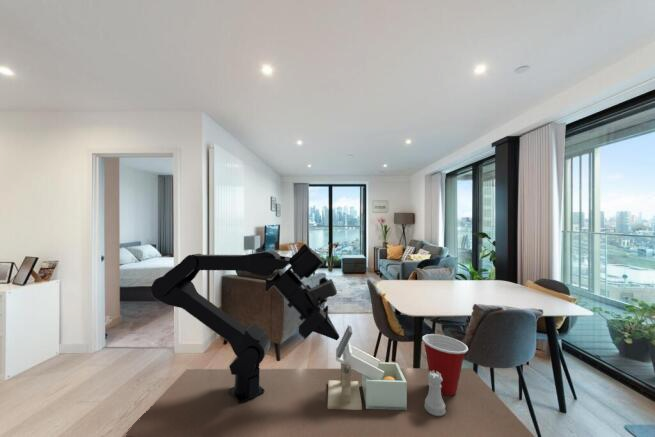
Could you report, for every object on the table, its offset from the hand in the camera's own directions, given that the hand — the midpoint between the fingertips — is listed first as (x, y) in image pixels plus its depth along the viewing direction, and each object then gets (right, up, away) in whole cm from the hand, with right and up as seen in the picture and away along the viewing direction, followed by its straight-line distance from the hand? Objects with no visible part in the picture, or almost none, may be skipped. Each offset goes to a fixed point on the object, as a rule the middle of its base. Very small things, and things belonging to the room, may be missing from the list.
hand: (338, 338), depth 65 cm
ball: (+12, -11, -1) cm, 17 cm away
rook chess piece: (+21, -14, -6) cm, 26 cm away
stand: (+2, -13, -1) cm, 14 cm away
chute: (+4, -6, 0) cm, 8 cm away
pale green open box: (+11, -14, -1) cm, 17 cm away
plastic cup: (+27, -14, +3) cm, 31 cm away
